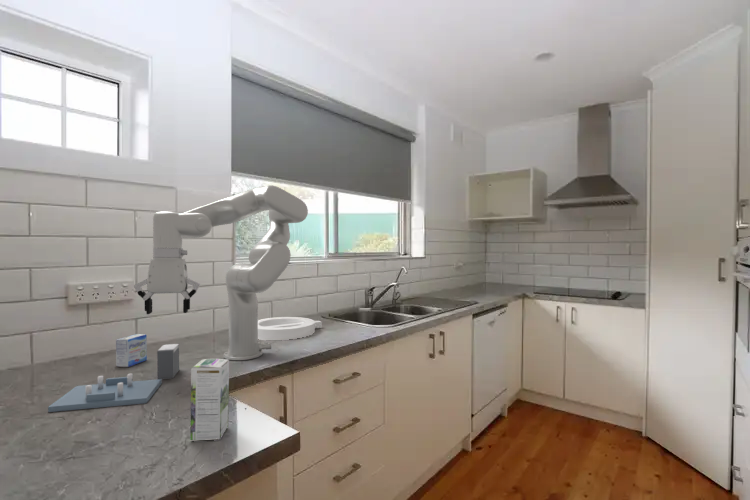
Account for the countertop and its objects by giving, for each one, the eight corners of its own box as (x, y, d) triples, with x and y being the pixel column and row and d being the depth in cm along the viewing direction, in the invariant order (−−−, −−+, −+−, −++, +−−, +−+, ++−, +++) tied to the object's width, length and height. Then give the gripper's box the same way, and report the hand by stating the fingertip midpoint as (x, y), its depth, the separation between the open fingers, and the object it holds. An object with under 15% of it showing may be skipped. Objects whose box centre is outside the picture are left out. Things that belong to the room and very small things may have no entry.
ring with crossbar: (324, 328, 182) (324, 318, 182) (298, 343, 155) (298, 331, 155) (268, 325, 189) (268, 315, 189) (234, 339, 161) (234, 327, 161)
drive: (179, 369, 121) (179, 343, 121) (173, 378, 113) (173, 349, 113) (164, 370, 120) (164, 344, 120) (157, 379, 112) (157, 350, 112)
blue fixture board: (161, 383, 109) (161, 368, 109) (146, 403, 95) (146, 385, 95) (76, 390, 104) (76, 374, 104) (48, 412, 90) (48, 393, 90)
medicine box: (127, 367, 123) (127, 339, 123) (115, 366, 124) (115, 339, 124) (147, 360, 131) (147, 334, 131) (135, 359, 132) (135, 333, 132)
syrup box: (200, 428, 82) (199, 358, 82) (229, 427, 83) (229, 357, 82) (189, 442, 76) (189, 367, 76) (221, 441, 77) (221, 366, 77)
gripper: (201, 254, 122) (201, 309, 122) (138, 254, 118) (138, 312, 118) (197, 254, 115) (197, 313, 115) (130, 254, 110) (130, 316, 110)
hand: (167, 312), depth 116 cm, fingers open, 9 cm apart
